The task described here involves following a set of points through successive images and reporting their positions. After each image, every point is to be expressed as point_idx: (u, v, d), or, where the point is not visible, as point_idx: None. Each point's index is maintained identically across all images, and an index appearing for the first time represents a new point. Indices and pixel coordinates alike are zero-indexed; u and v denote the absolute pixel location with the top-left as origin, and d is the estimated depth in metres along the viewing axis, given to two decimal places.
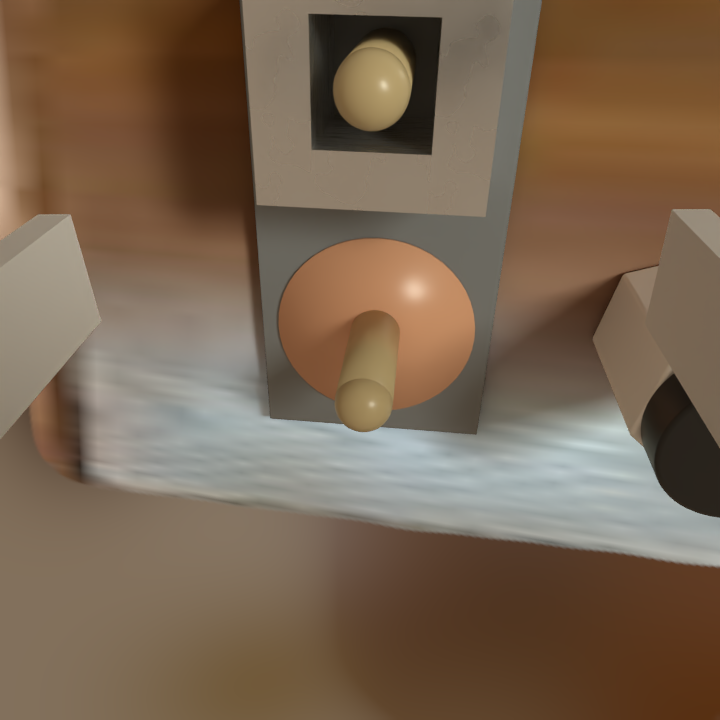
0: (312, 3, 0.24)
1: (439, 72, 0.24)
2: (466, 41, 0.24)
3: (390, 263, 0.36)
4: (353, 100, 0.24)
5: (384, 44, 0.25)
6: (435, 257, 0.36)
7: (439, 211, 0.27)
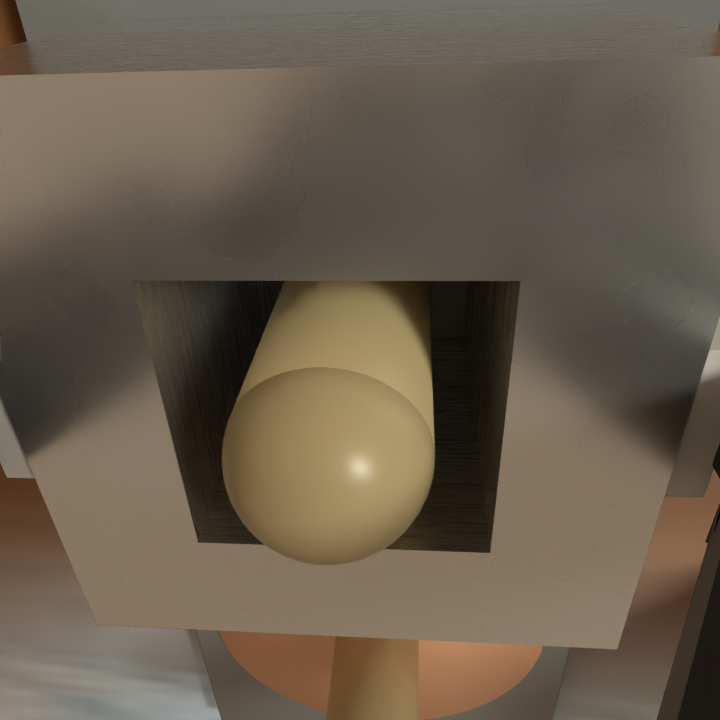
0: (138, 256, 0.08)
1: (511, 402, 0.09)
2: (590, 334, 0.08)
3: None
4: (273, 535, 0.08)
5: (356, 321, 0.09)
6: None
7: (509, 640, 0.12)
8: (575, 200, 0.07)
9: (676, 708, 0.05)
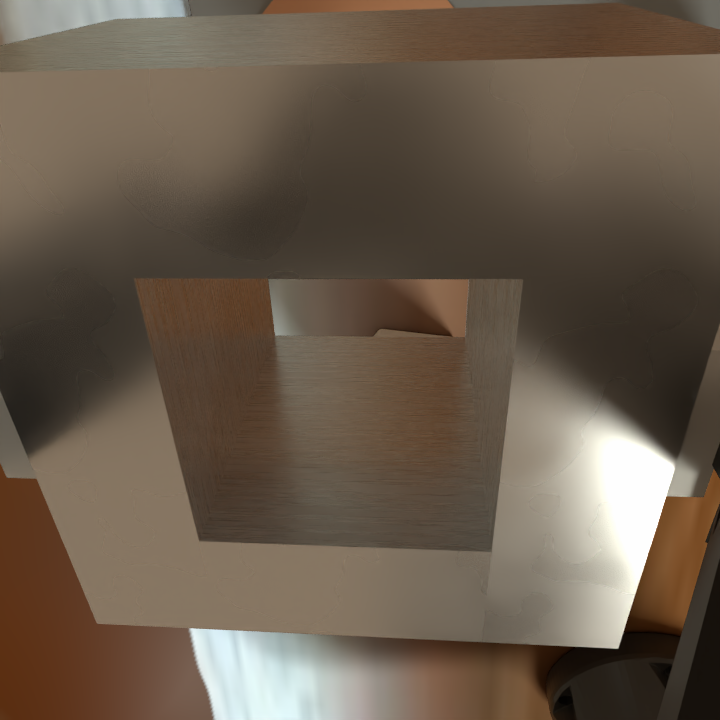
0: (140, 254, 0.08)
1: (513, 401, 0.09)
2: (592, 332, 0.08)
3: None
4: None
5: None
6: None
7: (510, 639, 0.12)
8: (578, 198, 0.07)
9: (676, 708, 0.05)
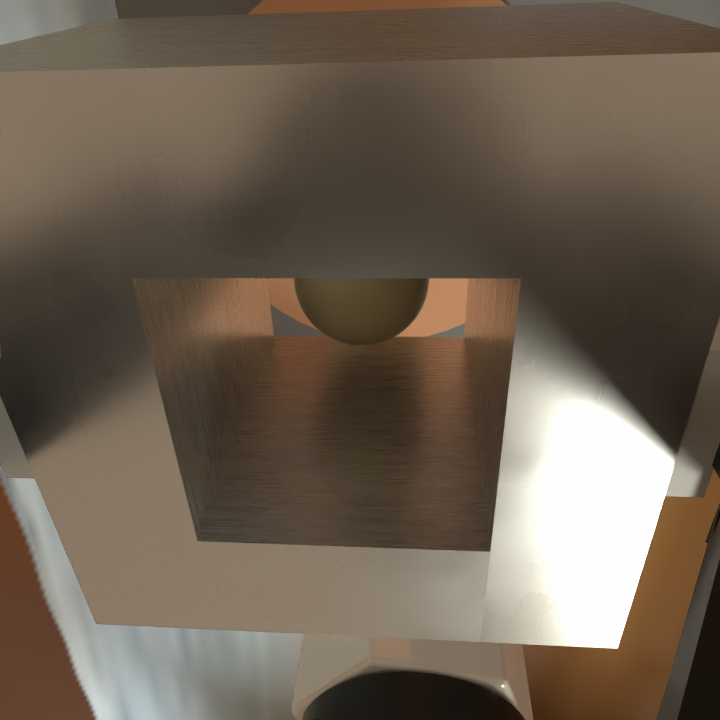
0: (137, 254, 0.08)
1: (511, 400, 0.09)
2: (591, 332, 0.08)
3: None
4: None
5: None
6: None
7: (509, 639, 0.12)
8: (576, 198, 0.07)
9: (676, 708, 0.05)
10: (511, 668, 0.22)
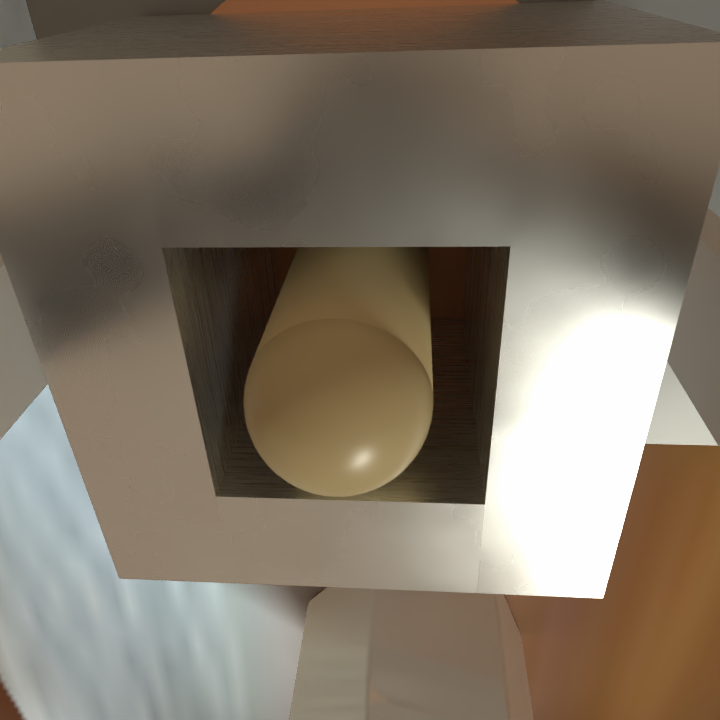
0: (168, 225, 0.09)
1: (502, 359, 0.10)
2: (573, 296, 0.09)
3: None
4: None
5: None
6: None
7: (502, 589, 0.13)
8: (558, 172, 0.08)
9: None
10: None
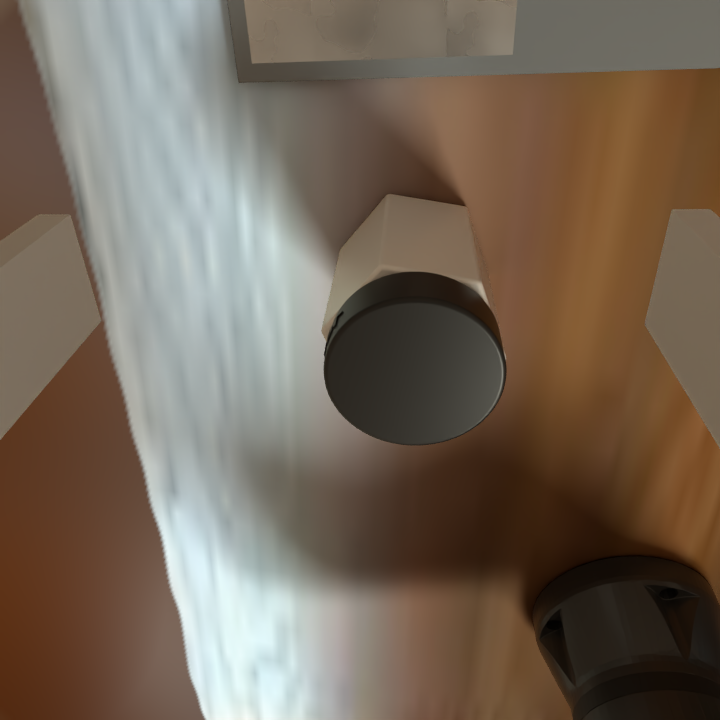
0: None
1: None
2: None
3: None
4: None
5: None
6: None
7: (459, 52, 0.24)
8: None
9: None
10: (486, 290, 0.30)
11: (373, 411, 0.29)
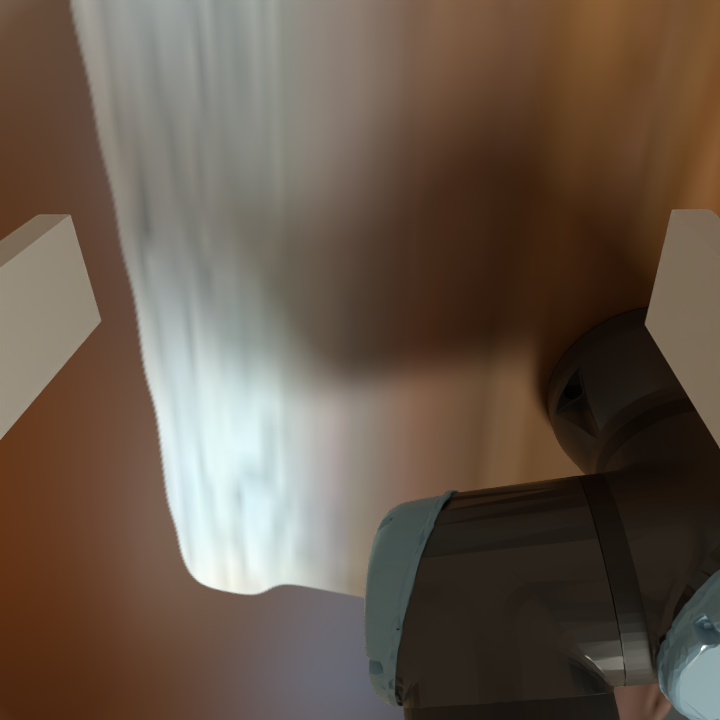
0: None
1: None
2: None
3: None
4: None
5: None
6: None
7: None
8: None
9: None
10: None
11: None
